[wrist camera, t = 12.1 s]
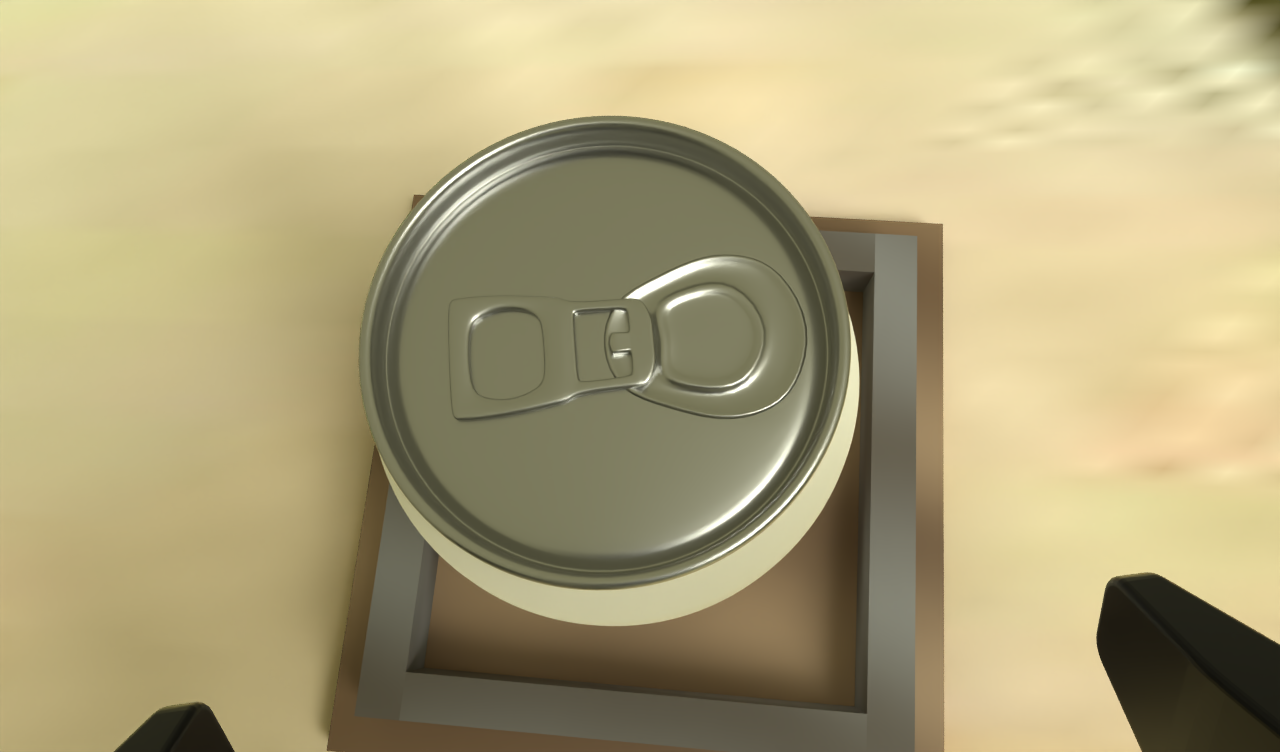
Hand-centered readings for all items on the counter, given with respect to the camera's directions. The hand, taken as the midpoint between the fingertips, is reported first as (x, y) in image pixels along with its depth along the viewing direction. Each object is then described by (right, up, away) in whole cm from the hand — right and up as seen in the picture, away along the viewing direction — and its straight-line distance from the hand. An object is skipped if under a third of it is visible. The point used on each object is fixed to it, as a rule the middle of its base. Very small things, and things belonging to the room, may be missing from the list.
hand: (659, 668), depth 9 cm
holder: (0, 0, +13) cm, 13 cm away
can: (0, 0, +13) cm, 13 cm away
